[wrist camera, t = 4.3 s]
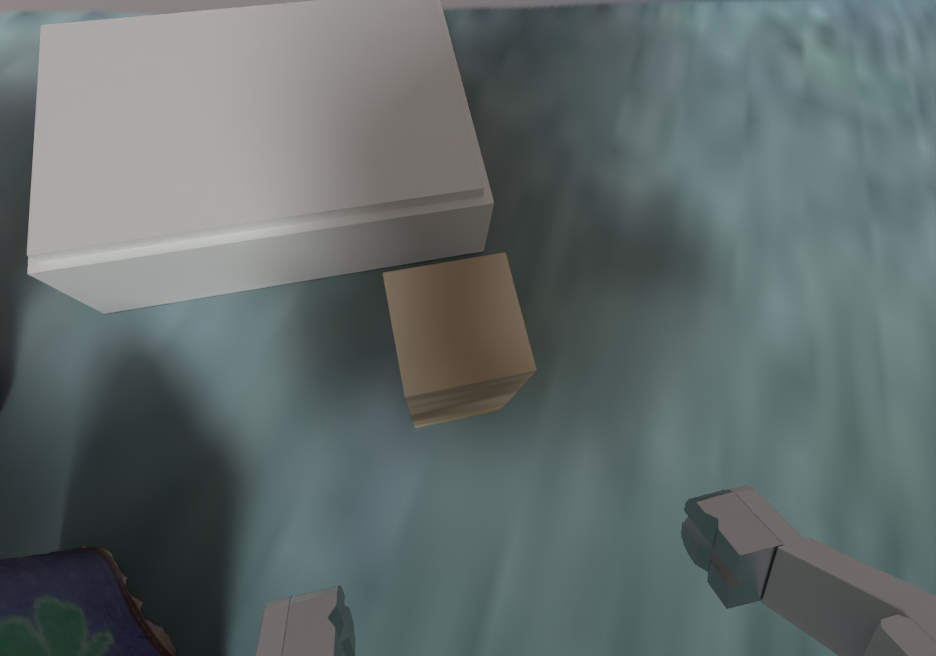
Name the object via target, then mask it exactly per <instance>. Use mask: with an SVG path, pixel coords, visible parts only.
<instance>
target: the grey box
mask: <svg viewBox="0 0 936 656" xmlns="http://www.w3.org/2000/svg"><path fill="white" fill-rule="evenodd" d="M493 207H494V200H493V196H492V193H491V189H490V185H489V181H488V177H487V174H486V170H485V166H484V162H483V159H482V155H481V151H480V147H479V144H478V140H477V136H476V132H475V129H474V125H473V121H472V117H471V114H470V110H469V106H468V102H467V99H466V95H465V91H464V87H463V83H462V80H461V76H460V72H459V68H458V65H457V61H456V57H455V53H454V50H453V46H452V42H451V38H450V35H449V31H448V27H447V23H446V20H445V16H444V12H443V8H442V4H441V1H440V0H315V1H304V2H293V3H281V4H270V5H259V6H248V7H237V8H226V9H215V10H204V11H193V12H182V13H171V14H160V15H149V16H138V17H127V18H116V19H105V20H93V21H82V22H71V23H60V24H49V25H41V35H40V51H39V67H38V83H37V99H36V115H35V130H34V146H33V162H32V178H31V194H30V210H29V226H28V242H27V256H28V270H27V274H28V275H30V276H32V277H34V278H36V279H38V280H40V281H42V282H44V283H46V284H47V285H49V286H51V287H53V288H55V289H57V290H59V291H61V292H63V293H65V294H67V295H69V296H71V297H73V298H74V299H76V300H78V301H80V302H82V303H84V304H86V305H88V306H90V307H92V308H94V309H96V310H98V311H99V312H101V313H103V314H107V313H113V312H119V311H125V310H131V309H137V308H143V307H149V306H155V305H161V304H168V303H174V302H180V301H186V300H192V299H198V298H204V297H210V296H216V295H222V294H228V293H234V292H240V291H246V290H252V289H258V288H264V287H271V286H277V285H283V284H289V283H295V282H301V281H307V280H313V279H319V278H325V277H331V276H337V275H343V274H349V273H355V272H361V271H368V270H374V269H380V268H386V267H392V266H398V265H404V264H410V263H416V262H422V261H428V260H434V259H440V258H446V257H452V256H458V255H465V254H471V253H477V252H483V251H484V248H485V244H486V239H487V234H488V230H489V225H490V221H491V216H492V211H493Z"/></svg>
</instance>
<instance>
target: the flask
mask: <svg viewBox="0 0 936 656" xmlns="http://www.w3.org/2000/svg"><path fill="white" fill-rule="evenodd" d="M126 579H127V576H126V577H124V576H123V574H122V573H121V571H120V570H119V568H118V564H117V563H116V562H115V560H114V559H113V556H112V554H111V552H110V551H108V550H104V549H102V548H95V547H87V546H86V545H84V544H83V545H82V547H81V548H78V549H73V550H65V551H57V552H51V553H47V554H39V555H32V556H27V557H22V558H10V559H2V560H0V656H177V655H176V652H177V650H176V648H175V647H174V645H173V644H172V643H171V641H170V636H169V635H167V634H165V633H164V630H163V628H162V627H160V626H157V624H158V623H157V624H156V625H154V624H153V622H150V621H148V620H147V619H146V620H145V618H144V616H143V615H142V612H141V610H140V609H141V607H142V605H143V602H144V601H139V600H138V599H136V598H134V597H133V596H131V595H130V593H129V591H128V590H127V584H126Z"/></svg>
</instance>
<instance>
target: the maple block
mask: <svg viewBox="0 0 936 656" xmlns="http://www.w3.org/2000/svg"><path fill="white" fill-rule="evenodd" d="M383 279H384V284H385V290H386V295H387V301H388V307H389V312H390V318H391V323H392V329H393V335H394V340H395V346H396V351H397V357H398V362H399V368H400V374H401V379H402V385H403V390H404V396H405V400H406V403H407V406H408V409H409V412H410V415H411V418H412V421H413V424H414V427H415V428H418V427H422V426H427V425H432V424H437V423H441V422H446V421H451V420H456V419H460V418H465V417H470V416H475V415H479V414H484V413H489V412H493V411H498V410H502V408H503V407H504V406H505V405H506V404H507V403H508V402H509V401H510V400H511V399H512V397H513V396H514V395H515V394H516V393H517V392H518V391H519V390H520V389H521V387H522V386H523V385H524V384H525V383H526V382H527V381H528V380H529V379H530V377H531V376H532V375H533V374H534V373H535V372H536V371H537V369H536V365H535V361H534V357H533V354H532V350H531V346H530V342H529V339H528V335H527V331H526V327H525V324H524V320H523V316H522V312H521V309H520V305H519V301H518V297H517V293H516V290H515V286H514V282H513V278H512V275H511V271H510V267H509V263H508V260H507V256H506V252H503V253H497V254H491V255H485V256H479V257H473V258H467V259H462V260H456V261H450V262H444V263H438V264H432V265H426V266H420V267H414V268H408V269H402V270H396V271H390V272H384V273H383Z"/></svg>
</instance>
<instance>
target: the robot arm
mask: <svg viewBox="0 0 936 656" xmlns="http://www.w3.org/2000/svg"><path fill="white" fill-rule="evenodd" d="M684 511H685V512H686V514H687V515H688V517H687V518H686V520H685V521H684V522H683V523H682V530H681V535H682V539H683V543H684V546H685V548H686V550H687V552H688V554H689V556H690V557H691V559H692V560H693V562H694V563H695V565H697V566H699V567H701V568H702V569H704V570H706V571H708V583H709V585H710V586H711V587H712V589H713V590H714V592H715V593H716V594H717V596H718V597H719V599H720V600H721V602H722V603H723V604H724V606H725V607H726V609H728V608H732V607H736V606H740V605H745V604H749V603H753V602H757V601H761V600H762V603H763V604H765V605H766V606H767V607H769V608H770V609H772V610H773V611H775V612H776V613H778V614H779V615H781V616H782V617H783V618H785V619H786V620H788V621H789V622H791V623H792V624H794V625H795V626H797V627H798V628H800V629H801V630H802V631H804V632H805V633H807V634H808V635H810V636H811V637H813V638H814V639H816V640H817V641H818V642H820V643H821V644H823V645H824V646H826V647H827V648H829V649H830V650H832V651H833V652H834V653H836V654H837V655H839V656H936V596H934V595H932V594H930V593H928V592H925V591H923V590H921V589H919V588H917V587H915V586H912V585H910V584H908V583H906V582H904V581H902V580H900V579H897V578H895V577H893V576H891V575H889V574H887V573H885V572H882V571H880V570H878V569H876V568H874V567H872V566H870V565H867V564H865V563H863V562H861V561H859V560H857V559H854V558H852V557H850V556H848V555H846V554H844V553H842V552H839V551H837V550H835V549H833V548H831V547H829V546H827V545H824V544H822V543H820V542H818V541H816V540H814V539H812V538H810V539H804V538H803V537H802V536H801V535H800V534H799V533H798V532H797V531H796V530H795V529H794V528H793V527H792V526H791V525H790V524H789V523H788V522H787V521H786V520H785V519H784V518H783V517H782V516H781V515H780V514H779V513H778V512H777V511H776V510H775V509H774V508H773V507H772V506H771V505H770V504H769V503H768V502H767V501H766V500H765V499H764V498H763V497H762V496H761V495H760V494H759V493H758V492H757V491H756V490H755V489H754V488H753V487H751V486H749V485H743V486H739V487H736V488H732V489H728V490H721V491H717V492H714V493H710V494H706V495H702V496H699V497H695V498H691V499H689V500H688V501H687V502H686V503H685V508H684ZM344 600H345V595H344V592H343V590H342V587H341V586H336V587H332V588H327V589H323V590H318V591H314V592H310V593H305V594H301V595H296V596H291V597H287V598H283V599H279V600H275V601H270V602H268V603H267V605H266V607H265V610H264V612H263V617H262V623H261V628H260V633H259V639H258V644H257V649H256V654H255V656H355V635H354V624H353V619H352V615H351V612H350V609H349V607H347V606H345V605H344Z"/></svg>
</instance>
